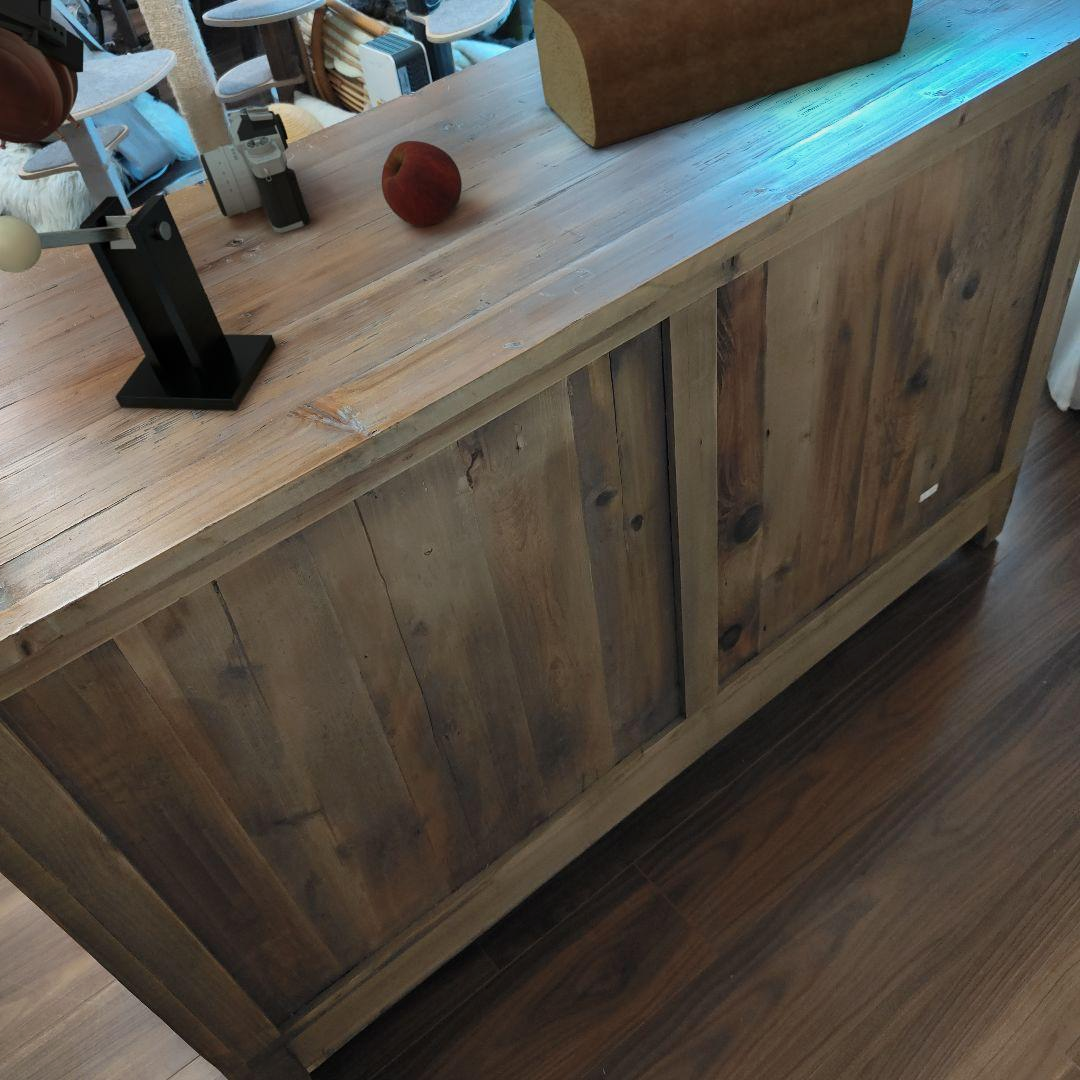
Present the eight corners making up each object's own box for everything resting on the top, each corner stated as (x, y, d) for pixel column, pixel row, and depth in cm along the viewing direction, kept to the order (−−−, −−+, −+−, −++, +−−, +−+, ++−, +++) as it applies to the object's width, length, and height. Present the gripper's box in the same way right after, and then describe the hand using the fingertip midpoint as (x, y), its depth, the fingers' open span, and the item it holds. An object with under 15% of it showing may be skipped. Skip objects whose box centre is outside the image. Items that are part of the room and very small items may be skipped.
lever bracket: (236, 411, 84) (159, 241, 72) (120, 407, 86) (28, 242, 75) (276, 345, 89) (210, 178, 78) (167, 344, 92) (88, 182, 81)
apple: (387, 212, 104) (367, 136, 98) (460, 193, 104) (444, 117, 98) (397, 246, 98) (377, 169, 93) (474, 227, 99) (459, 149, 93)
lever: (20, 275, 64) (8, 216, 63) (-27, 275, 65) (-40, 217, 64) (166, 253, 79) (159, 205, 78) (126, 254, 80) (118, 206, 79)
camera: (212, 190, 112) (176, 101, 105) (289, 165, 114) (259, 76, 107) (237, 251, 102) (200, 157, 95) (321, 224, 104) (291, 129, 96)
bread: (540, 105, 116) (523, -21, 106) (834, 14, 122) (843, -112, 113) (594, 157, 106) (581, 23, 96) (912, 55, 112) (930, -81, 102)
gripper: (-340, -7, 72) (-83, 109, 94) (-70, -35, 67) (137, 96, 88) (-340, -115, 72) (-83, 27, 93) (-69, -151, 66) (138, 8, 88)
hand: (24, 60), depth 91 cm, fingers closed on alarm clock, 11 cm apart
